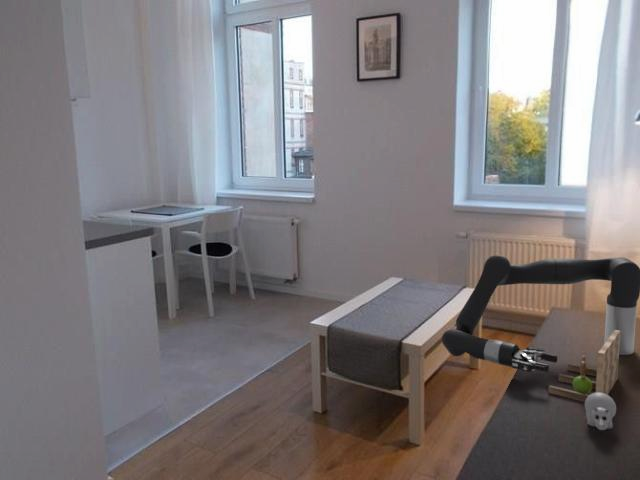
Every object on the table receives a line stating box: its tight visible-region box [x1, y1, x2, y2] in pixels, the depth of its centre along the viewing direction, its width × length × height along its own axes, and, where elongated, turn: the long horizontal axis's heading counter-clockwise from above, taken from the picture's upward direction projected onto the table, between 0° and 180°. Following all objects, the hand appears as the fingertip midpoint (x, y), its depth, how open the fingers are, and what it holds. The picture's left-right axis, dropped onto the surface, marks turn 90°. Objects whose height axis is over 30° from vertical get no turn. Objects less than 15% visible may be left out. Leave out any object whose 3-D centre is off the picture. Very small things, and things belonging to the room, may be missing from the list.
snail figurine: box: [571, 351, 593, 395], centre depth 165 cm, size 5×6×12 cm
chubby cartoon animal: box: [584, 391, 617, 431], centre depth 145 cm, size 8×12×9 cm, turn 153°
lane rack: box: [548, 330, 620, 403], centre depth 168 cm, size 22×14×16 cm, turn 141°
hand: (552, 363), depth 170 cm, fingers open, 8 cm apart
